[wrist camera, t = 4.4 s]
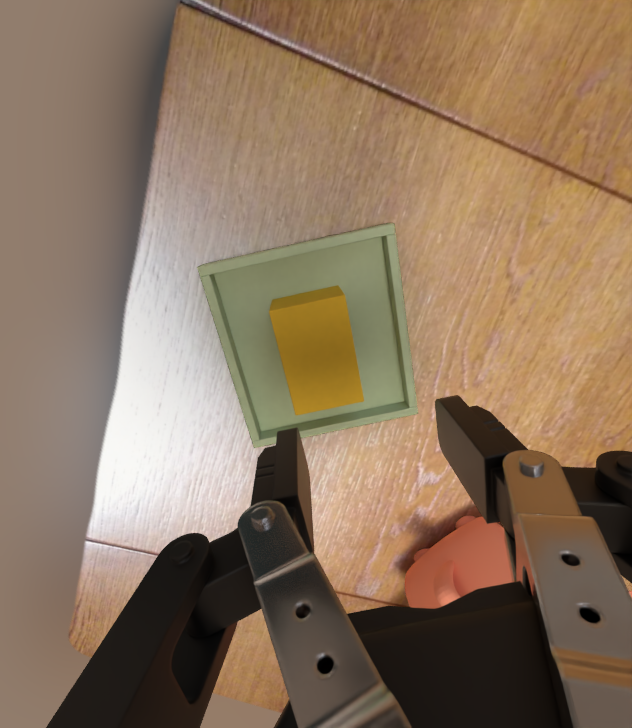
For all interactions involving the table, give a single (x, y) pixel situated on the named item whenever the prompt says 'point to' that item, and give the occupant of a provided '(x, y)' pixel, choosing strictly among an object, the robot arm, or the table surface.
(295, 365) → the sponge
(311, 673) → the robot arm
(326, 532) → the table surface
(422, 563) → the teapot
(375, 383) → the tray
